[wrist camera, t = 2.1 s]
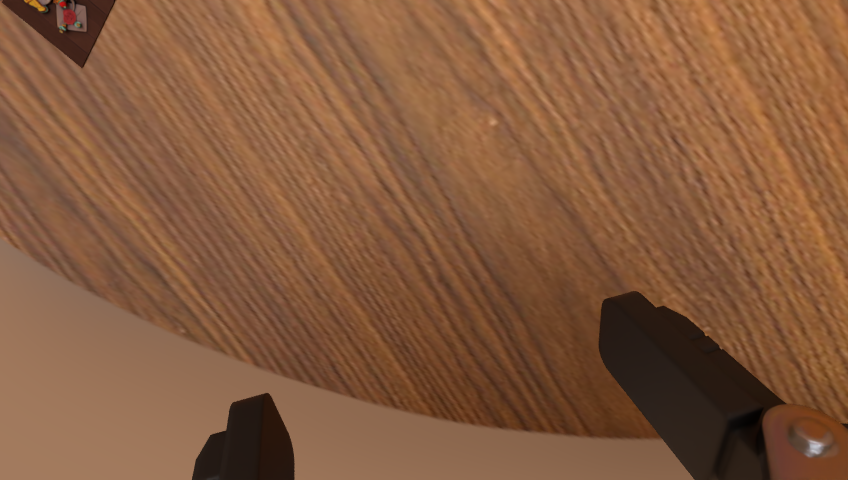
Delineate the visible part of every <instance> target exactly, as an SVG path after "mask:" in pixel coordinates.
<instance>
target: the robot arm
mask: <svg viewBox="0 0 848 480" xmlns="http://www.w3.org/2000/svg"><path fill="white" fill-rule="evenodd" d="M599 351H600V355H601V358H602V360H603V363H604V365H605V366H606V368H607V369H608V371H609V372H610V373H611V375H612V376H613V377H614V378H615V380H616V381H617V382H618V383H619V385H620V386H621V387H622V388H623V390H624V391H625V392H626V394H627V395H628V396H629V397H630V399H631V400H632V401H633V402H634V404H635V405H636V406H637V407H638V409H639V410H640V411H641V412H642V414H643V415H644V416H645V418H646V419H647V420H648V421H649V423H650V424H651V425H652V426H653V428H654V429H655V430H656V431H657V433H658V434H659V435H660V436H661V438H662V439H663V440H664V442H665V443H666V444H667V445H668V447H669V448H670V449H671V450H672V451H673V453H674V454H675V455H676V457H677V458H678V459H679V460H680V462H681V463H682V464H683V465H684V467H685V468H686V469H687V471H688V472H689V473H690V474H691V476H692V477H693V478H694V479H695V480H848V424H842V423H839V422H838V421H836V420H835V419H834V418H832V417H830V416H828V415H827V414H824V413H822V412H820V411H818V410H815V409H812V408H810V407H806V406H802V405H795V404H786V403H785V402H783V401H782V400H781V399H780V398H778V397H777V396H776V395H775V394H774V393H773V392H772V391H770V390H769V389H768V388H767V387H766V386H765V385H764V384H762V383H761V382H760V381H759V380H758V379H757V378H756V377H754V376H753V375H752V374H751V373H750V372H749V371H748V370H746V369H745V368H744V367H743V366H742V365H741V364H739V363H738V362H737V361H736V360H735V359H734V358H733V357H731V356H730V355H729V354H728V353H727V352H726V351H725V350H723V349H722V350H721V349H720V348H719V345H718V344H717V343H715V342H714V341H713V340H712V339H711V338H710V337H709V336H705V334H704V332H703V331H702V330H701V329H699V328H698V327H697V326H696V325H695V324H694V323H693V322H691V321H690V320H689V319H688V318H687V317H685V316H683V315H681V314H679V313H677V312H675V311H673V310H671V309H669V308H667V307H665V306H661V307H657V308H656V307H655V306H654V305H653V304H652V303H651V302H650V301H648V300H647V299H646V298H645V297H644V296H643V295H642V294H641V293H639V292H636V291H632V292H629V293H625V294H622V295H618V296H615V297H611V298H607V299H605V300H604V301H603V303H602V309H601V321H600V333H599ZM192 480H294V453H293V447H292V443H291V439H290V436H289V433H288V431H287V429H286V427H285V425H284V423H283V421H282V419H281V417H280V414H279V412H278V410H277V408H276V406H275V404H274V402H273V399H272V397H271V396H270V394H269V393H265V394H261V395H258V396H254V397H251V398H247V399H243V400H240V401H237V402H233V403H232V404H231V406H230V410H229V417H228V423H227V430H226V431H223V432H219V433H216V434H212V435H210V437H209V439H208V440H207V442H206V444H205V446H204V447H203V449H202V451H201V452H200V454H199V456H198V457H197V459H196V462H195V467H194V472H193V477H192Z"/></svg>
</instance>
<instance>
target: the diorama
mask: <svg viewBox="0 0 848 480" xmlns="http://www.w3.org/2000/svg"><path fill="white" fill-rule="evenodd" d="M114 1H115V0H3V1H2V3H3V4H4V5H6V6H7V7H8V8H9V9H11V10H12V11H13V12H14V13H15V14H17V15H18V16H19V17H20V18H22V19H23V20H24V21H25V22H26V23H28V24H29V25H30V26H31V27H33V28H34V29H35V30H36V31H37V32H39V33H40V34H41V35H42V36H43V37H45V38H46V39H47V40H48V41H50V42H51V43H52V44H53V45H54V46H56V47H57V48H58V49H59V50H61V51H62V52H63V53H64V54H65V55H67V56H68V57H69V58H70V59H72V60H73V61H74V62H75V63H76V64H78V65H79V66H80V67H81V68H82V66H83V64H84V62H85V60H86V58H87V56H88V54H89V52H90V50H91V48H92V46H93V44H94V42H95V40H96V38H97V36H98V34H99V32H100V30H101V28H102V25H103V23H104V21H105V19H106V17H107V15H108V13H109V11H110V9H111V7H112V5H113V3H114Z"/></svg>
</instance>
